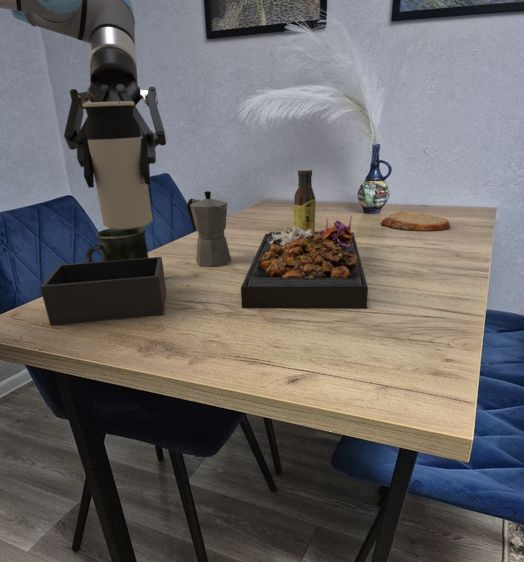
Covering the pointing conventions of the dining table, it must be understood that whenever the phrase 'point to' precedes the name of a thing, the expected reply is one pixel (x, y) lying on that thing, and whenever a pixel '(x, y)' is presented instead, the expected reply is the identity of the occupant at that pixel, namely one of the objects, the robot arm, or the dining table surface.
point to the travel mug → (118, 164)
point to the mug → (120, 244)
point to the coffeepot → (210, 230)
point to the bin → (105, 290)
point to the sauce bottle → (304, 202)
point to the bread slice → (416, 222)
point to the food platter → (306, 270)
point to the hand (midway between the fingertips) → (118, 180)
